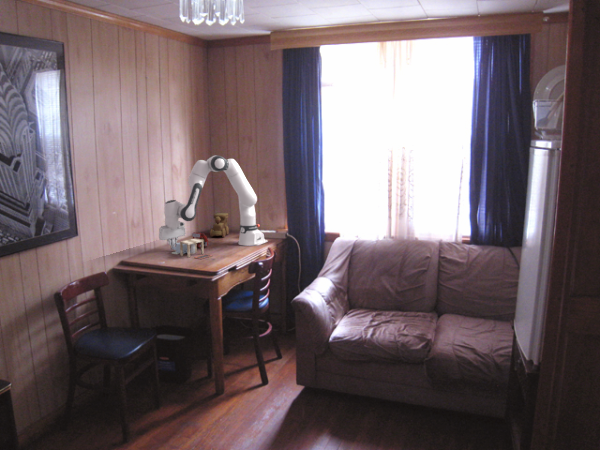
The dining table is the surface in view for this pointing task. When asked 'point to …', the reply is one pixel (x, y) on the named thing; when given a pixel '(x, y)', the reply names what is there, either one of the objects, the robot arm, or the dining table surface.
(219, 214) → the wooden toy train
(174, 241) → the sled
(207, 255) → the pit
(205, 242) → the toy fire truck
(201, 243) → the tunnel
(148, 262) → the dining table surface
